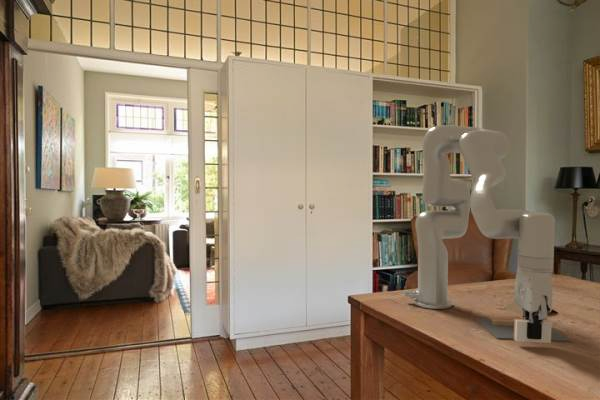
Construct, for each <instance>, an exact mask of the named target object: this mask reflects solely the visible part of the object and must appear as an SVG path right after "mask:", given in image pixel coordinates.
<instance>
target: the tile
mask: <svg viewBox="0 0 600 400" xmlns="http://www.w3.org/2000/svg"><path fill="white" fill-rule="evenodd" d="M513 320H514V341H516V342H522V343H541V344H543V343H544V344H545V343H546V344H551V343H552V341H551V328H552V327H553V326H552V322H551V321H550V320H548V319H547V320H543V324H542V336H541V339H528V338H527V322H529V320H525V319H524V318H523V319H521V318H520V319H519V318H514V319H513Z"/></svg>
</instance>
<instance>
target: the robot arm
mask: <svg viewBox="0 0 600 400" xmlns="http://www.w3.org/2000/svg"><path fill="white" fill-rule="evenodd" d="M510 146H511V145H510V140H509V138H508V136H507V135H506V134H504V133H503V132H501V131H499V130H491V129H486V128H481V127H476V126H475V127H474V126H465V125H464V126H463V125H452V124H450V125H449V124H444V125H443V124H442V125H435V126H433V127H431V128H430V129H428V131H426V133H425V135H424V137H423V140H422V156H423V163H424V164H423V177H422V194H421V196H422V200H423V203H424V204H425V205H426V206H429V207H437V208H438V207H439V208H441V207H443V208H445V207H446V208H447V210H440V209H439V210H437V209H436V210H425V211H423V212H421V213H419V214H417V216H416V219H415V223H414V224H415V231H416V238H417V248H418V249H417V250H418V251H417V252H418V253H417V263H418V265H417V266H418V268H417V288H415V290H412V291H409V290H406V291H405V290H404V291H403V297H404V298H408V299H413V301H412V303H413V304H414V305H416V306H418V307H421V308H425V309H433V310H443V309H450V308H452V307H453V301H452V300H450V299H448V296H449V294H448V286H449V285H448V284H449V283H448V279H449V277H448V276H449V275H448V274H449V254H448V253H449V252H448V249H447V247H446V244H445V243H444V240H445V239H459V238H461V237H463V236H465V234H466V232H467V230H468V226H469V218H470V211H471V214H472V216H473V219H474V221H475V222H474V223H475V224H476V226H477V228H478V230H479V231H480V233H481V235H484V237H487V238H488V239H492V240H493V239H495V240H496V239H497V240H499V239H518V243H517V247H518V248H517V270H516V275H515V283H514V295H513V301H515V302H516V303H517V304H518V305H519V306H521V307H522V308H523V315H522V318H523V319H525V320H529V322H527V338H528V339H541V336H542V324H543V320H547V321H548V320H549V319H548V314H550V313H551V312H552V311H551V310H552V309H553V275H552V272H554V257H555V256H554V254H555V252H554V251H555V229H556V219H555V218H556V217H554V215H553V214H551V213H548V212H541V211H539V212H538V211H530V210H524V209H520V208H519V209H509V208H507V209H506V208H505V209H500V208H499V209H496V206H495V204H494V202H493V200H492V198H491V191H490V190H491V188H493V187H495V186H496V185H498V184H500V183H501V182H502V181H503V180H504V179H505V178H506V175H507V171H506V169H505V167H504V165H503V163H502V161H501V160H502V159H504V158H506V157H507V156H508V154H509V152H510V149H511V148H510ZM446 153H453V154H454V153H455V154H461V155H462V158H463V160H464V162H465V165H466V167H467V169H468V171H469V174H470V176H471V178H472V180H473V183H474V185H473V187H472V189H471V190H470V187H469V185H468V184H467V182H466V181H465V180H462V179H461V178H460V179H459V178H451V173H452V165H451V162H450V159H449V157H448V155H447V154H446ZM538 309H539V310H538Z"/></svg>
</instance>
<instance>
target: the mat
mask: <svg viewBox="0 0 600 400" xmlns="http://www.w3.org/2000/svg"><path fill="white" fill-rule="evenodd" d="M475 320H476V321H477V322H478V323H479V324H480V325H481V326H482V327H484V328H485V330H487V332H489V333H490V334H491V335H492V336H493V337H494V338H495V339H496V340H510V341H511V340H514V319H510V318H509V319H506V318H505V319H504V318H503V319H502V318H475ZM514 341H515V340H514ZM551 342H568V343H569V342H570V343H572V340H571V339H570V338H568V337H567V336H565V335H563V334H562V333H560V332H558V331H557V330H555V329H554V328H552V327H551Z"/></svg>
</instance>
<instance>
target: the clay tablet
mask: <svg viewBox="0 0 600 400" xmlns="http://www.w3.org/2000/svg"><path fill="white" fill-rule="evenodd" d="M503 309H505V310H508V311H512V312H515V313H517V314H520V315H522V316H523V308H522V307H521V306H519V305H518V304H517V303H516V302H515V301H514V300H513V301H511V302H509V303H508V304H507V305H506V306H505V307H504V308H503ZM538 310H539V309H538ZM551 312H555V313H558V312H557V311H556V310H555V309H553V308H552V310H551Z"/></svg>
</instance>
